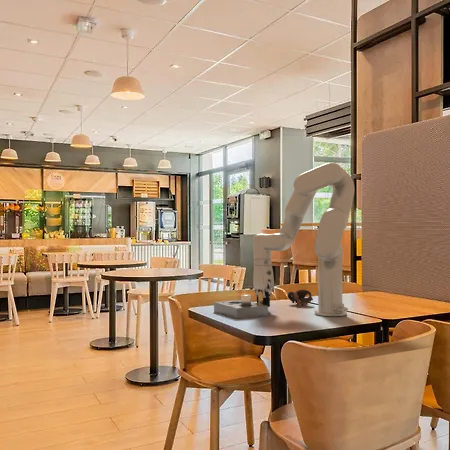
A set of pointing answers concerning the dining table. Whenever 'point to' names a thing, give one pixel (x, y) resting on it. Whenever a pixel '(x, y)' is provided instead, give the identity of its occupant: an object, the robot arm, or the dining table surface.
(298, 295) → the brown animal figurine
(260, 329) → the dining table surface
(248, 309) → the jig
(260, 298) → the bushing
